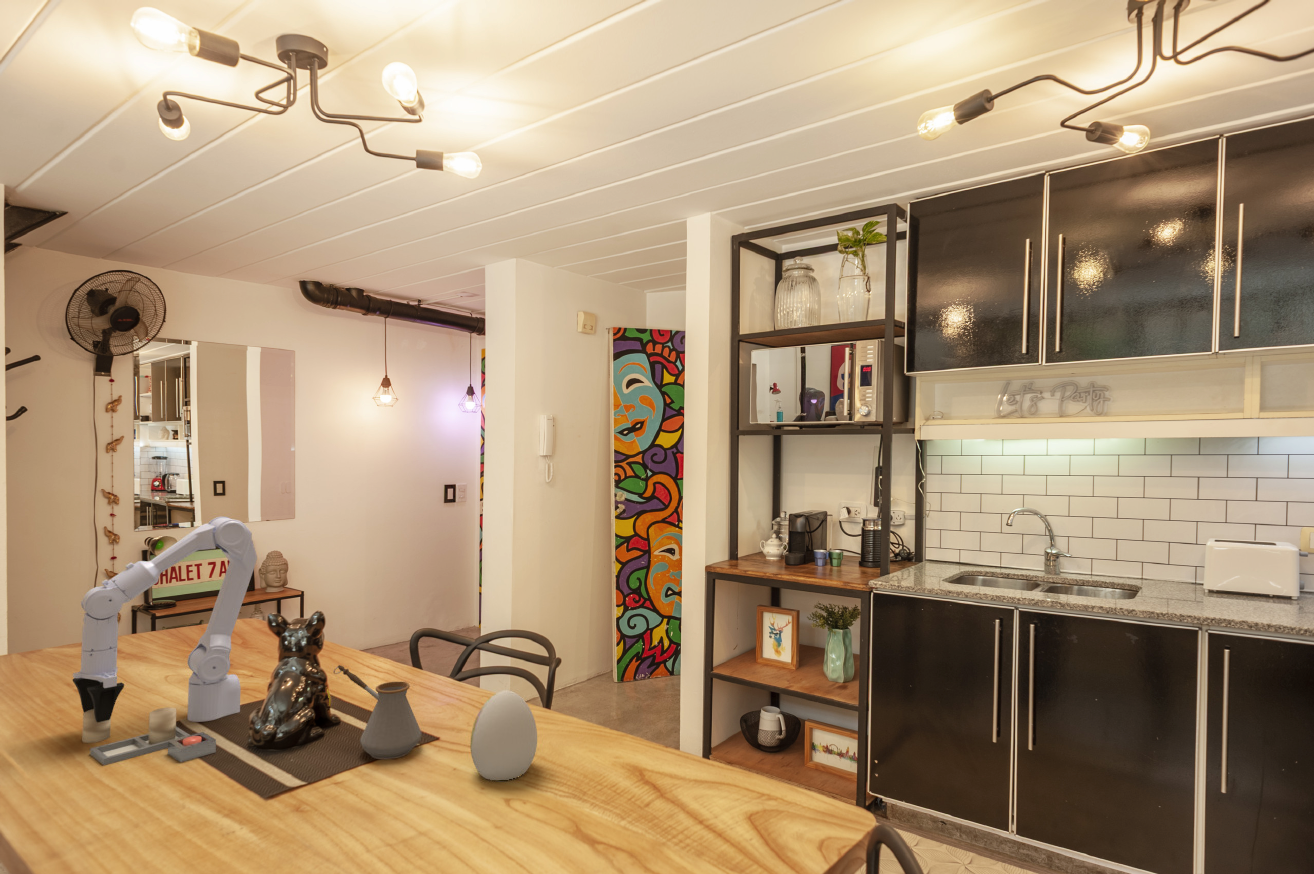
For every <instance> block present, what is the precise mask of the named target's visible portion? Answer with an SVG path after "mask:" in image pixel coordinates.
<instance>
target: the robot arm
mask: <svg viewBox="0 0 1314 874" xmlns="http://www.w3.org/2000/svg"><path fill="white" fill-rule="evenodd" d="M252 538H253V532H252V531H251V530H250V529H249V528H248V526H247V525H246V524H245V523H244V522H242V521H241V520H238V519H232V518H230V517H229V516H217V517H215V518H213V519H211V520H210V521H208V523H204V524H202V525H200V526H198V527H196V528H195V529H194V530H193V531H191V532H189V533H188V534H186V535H184V537H183V538H181V539H180V540H178V541H177V542H174V543H173V544H172V545H171V546H169V547H168V548H167V549H165V550H163V551H162V552H161V553H160V554H158V555H156V556H155V557H154V558H151V560H149V561H145V560H138V561H137V562H135V563H133V562H129V563H127V564H126V565H125V566H124V567H125V569H123V570H122V571H121V572H120V573H118V574H116V575H114V576H113V577H112V578H110V579H104V580H103V581H101V585H102V586H96V587H92V588H91V589H90V590H88V591H87V592H86V593H85V594H84V596H83V598H82V600H81V601H80V605H81V608H82V610H83V611H84V612H85V613H84V616H83V625H82V629H81V630H82V634H81V635H82V636H81V655H80V657H81V658H80V670H79V672H73V673H72V677H73V679H72V682H73V684H74V686H75V688H76V689H77V691H78V695H79V699H80V703H81V708H82V711H83V713H84V712H86V711H88V710H92V709H94V714H95V719H96V722H102V721H107V720H110V718H111V719H112V715H113V711H114V708H115V704H116V702H117V700H118V698H119V695H120V694H121V692H122V690H124V688H125V684H124V683H123V682H118V675H117V674H118V669H119V668H118V665H117V664H118V663H117V662H118V645H119V643H118V642H119V641H118V639H119V623H118V615H119V612H120V611H121V610H122V607H123V604H126V603H129V602H130V601H132V600H133V599H135V598H136V597H138V596H139V595H141V594H142V593H144V592H145V591H147V590H148V589H150V588H151V587H153V586H154V585H155V584H157V583H158V582H159V579H160V575H161V573H163V572H165V571H166V570H168V569H170V568H171V567H172V566H174V565H176V564H178V563H179V562H181V561H183V560H184V559H185V558H187V557H189V556H190V555H192V554H194V553H196V552H197V551H202V550H214V549H216V548H219V549H220V550H221V551H222V553H223V554H224V556H225V557H226V559H227V560H228V561H229V563H228V566H227V569H226V571H225V574H224V577H223V580H222V583H221V586H220V589H219V592H218V594H217V598H216V600H215V604H214V606H213V609H212V612H211V615H210V617H209V618H210V619H209V620H208V624H207V626H206V629H205V632H204V633H203V634H202V635H201V637H200V638H199V640H198V643H197V645H196V646H195V647H194V649H193V650H192V651H191V652H190V653H189V654H188V657H187V666H188V668H189V669H190V670H191V671H192V673H191V675H190V677H189V678H188V690H187V691H188V694H187V720H188V721H190V722H195V723H199V722H208V721H209V722H210V721H214V720H218V719H220V718H223V717H226V716H227V717H228V716H229V715H233V714H237V713H240V712H241V683H240V679H239V677H238V675H237V674H233V673H232V674H228V673H229V671H230V669H231V659H230V655H231V651H232V634H233V632H234V629H235V625H236V622H237V620H238V617H239V614H240V611H241V608H242V604H243V602H244V599H245V596H246V594H247V590H248V587H249V584H250V581H251V578H252V576H253V573H254V569H255V566H256V563H257V560H258V556H257V555H258V554H257V551H256V548H255V545H254V541H253V539H252Z"/></svg>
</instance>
